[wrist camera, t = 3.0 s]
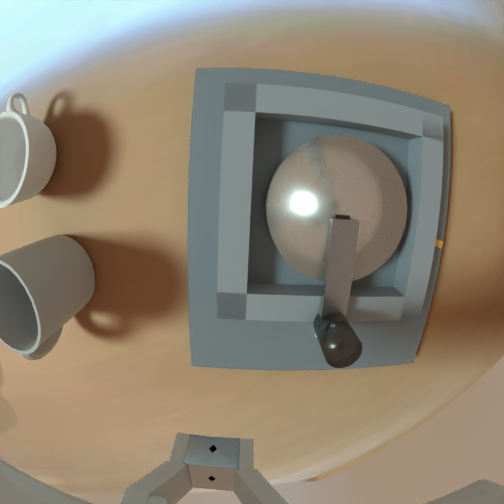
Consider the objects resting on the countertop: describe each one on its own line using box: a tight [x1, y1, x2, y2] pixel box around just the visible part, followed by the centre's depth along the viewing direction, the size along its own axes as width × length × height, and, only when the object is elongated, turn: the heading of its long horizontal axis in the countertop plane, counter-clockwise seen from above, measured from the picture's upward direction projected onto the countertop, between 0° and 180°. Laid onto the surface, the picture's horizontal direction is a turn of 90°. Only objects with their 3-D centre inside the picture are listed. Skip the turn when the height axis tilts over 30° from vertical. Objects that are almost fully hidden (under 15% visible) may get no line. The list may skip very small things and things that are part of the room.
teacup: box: [0, 93, 56, 208], centre depth 18 cm, size 10×8×5 cm
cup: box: [0, 235, 95, 360], centre depth 19 cm, size 7×10×9 cm
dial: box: [265, 135, 407, 368], centre depth 18 cm, size 14×10×6 cm
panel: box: [188, 68, 451, 370], centre depth 21 cm, size 24×21×3 cm
